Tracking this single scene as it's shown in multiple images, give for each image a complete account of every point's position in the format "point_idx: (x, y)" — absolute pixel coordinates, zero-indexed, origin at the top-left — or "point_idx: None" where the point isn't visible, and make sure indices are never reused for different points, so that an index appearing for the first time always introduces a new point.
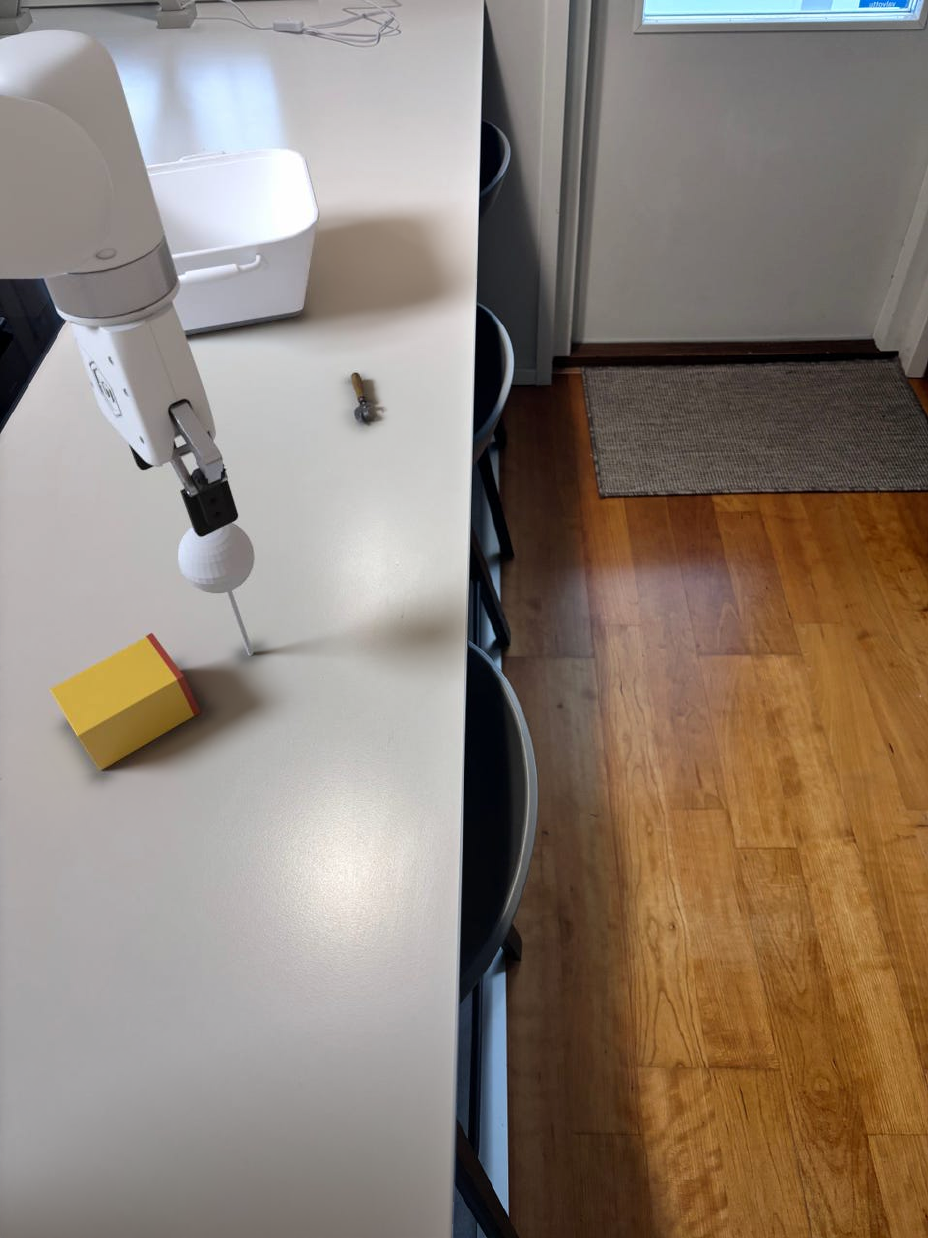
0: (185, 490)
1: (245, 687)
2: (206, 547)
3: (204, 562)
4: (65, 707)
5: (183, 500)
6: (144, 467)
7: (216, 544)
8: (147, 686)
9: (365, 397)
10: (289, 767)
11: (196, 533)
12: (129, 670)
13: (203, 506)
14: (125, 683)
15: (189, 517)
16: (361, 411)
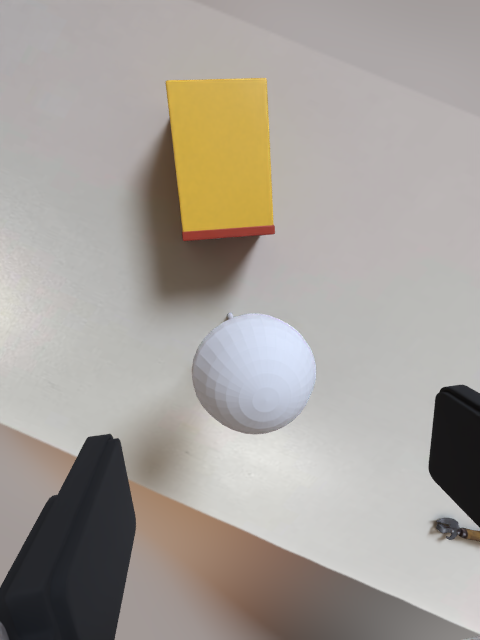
0: (26, 610)
1: (192, 293)
2: (230, 381)
3: (216, 360)
4: (222, 84)
5: (66, 535)
6: (442, 398)
7: (227, 397)
8: (193, 195)
9: (463, 537)
10: (69, 290)
11: (92, 438)
12: (232, 185)
13: (9, 574)
14: (215, 172)
15: (92, 471)
16: (450, 526)
